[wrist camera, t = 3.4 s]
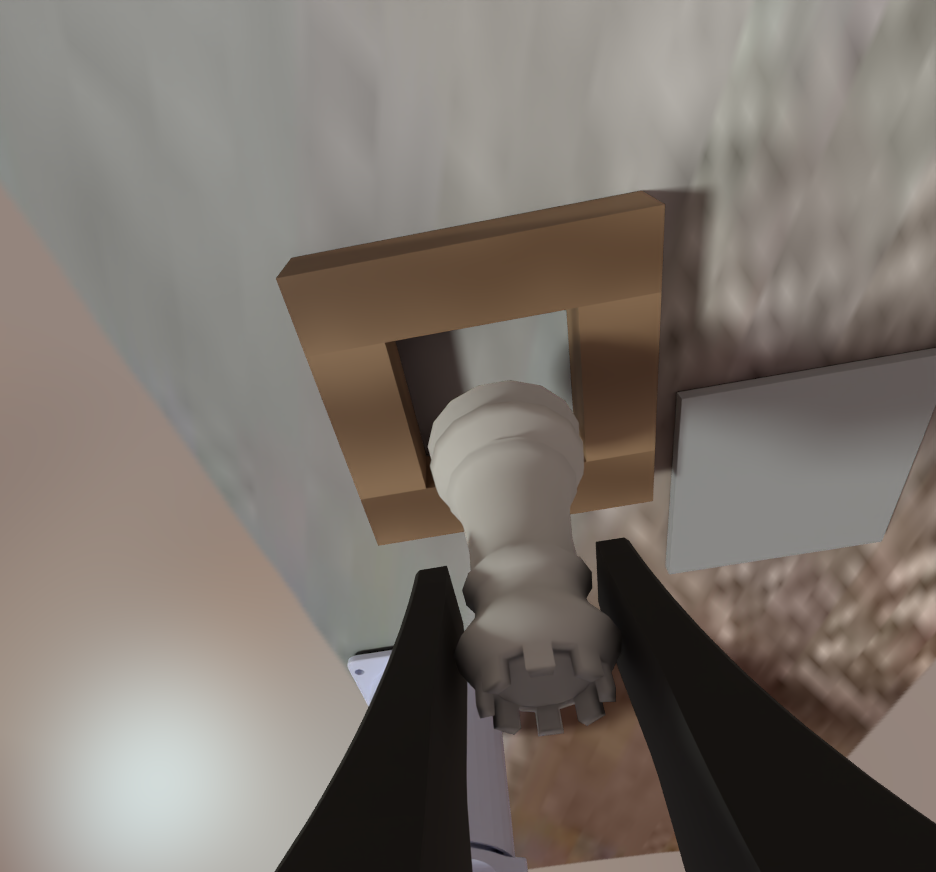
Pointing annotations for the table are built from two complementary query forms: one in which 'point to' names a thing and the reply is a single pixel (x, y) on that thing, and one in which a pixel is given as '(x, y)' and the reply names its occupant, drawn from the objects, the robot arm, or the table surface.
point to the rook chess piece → (523, 557)
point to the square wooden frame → (477, 303)
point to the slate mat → (795, 460)
